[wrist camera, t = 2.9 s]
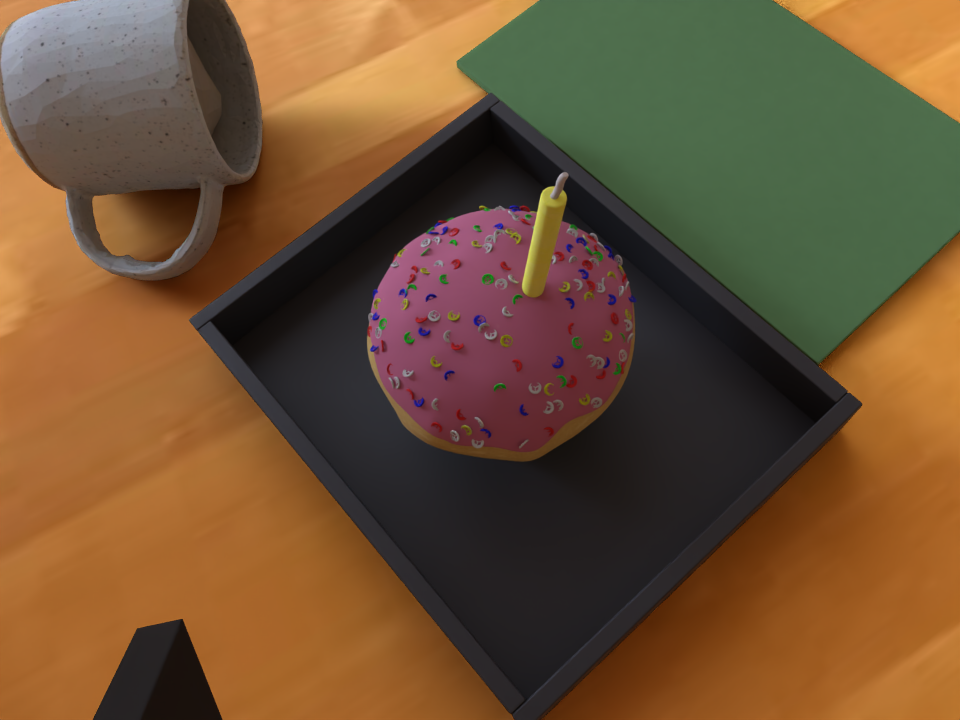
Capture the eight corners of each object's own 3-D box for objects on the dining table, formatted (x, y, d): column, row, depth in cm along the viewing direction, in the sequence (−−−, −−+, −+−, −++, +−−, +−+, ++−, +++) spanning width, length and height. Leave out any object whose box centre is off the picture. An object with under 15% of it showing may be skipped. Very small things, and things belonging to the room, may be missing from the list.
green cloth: (457, 67, 38) (455, 61, 37) (648, -74, 40) (649, -82, 40) (815, 368, 30) (818, 363, 30) (1022, 173, 33) (1027, 167, 33)
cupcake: (596, 261, 33) (611, 22, 22) (655, 469, 29) (708, 310, 18) (378, 306, 33) (285, 92, 22) (411, 519, 29) (319, 390, 18)
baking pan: (213, 347, 33) (187, 319, 31) (495, 132, 36) (490, 91, 34) (528, 732, 26) (524, 732, 24) (841, 429, 29) (864, 403, 27)
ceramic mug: (92, 97, 39) (-13, -41, 32) (266, 75, 38) (199, -70, 31) (64, 302, 35) (-63, 196, 28) (260, 280, 34) (182, 167, 27)
